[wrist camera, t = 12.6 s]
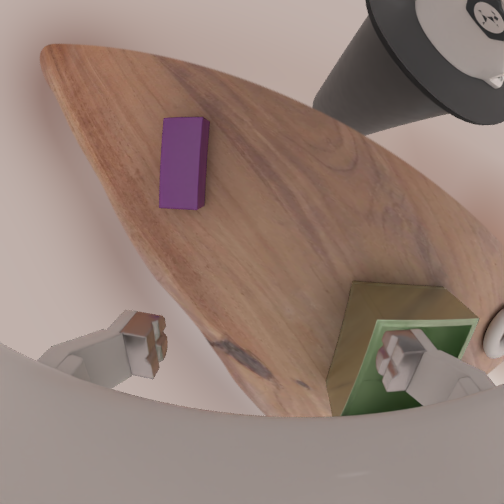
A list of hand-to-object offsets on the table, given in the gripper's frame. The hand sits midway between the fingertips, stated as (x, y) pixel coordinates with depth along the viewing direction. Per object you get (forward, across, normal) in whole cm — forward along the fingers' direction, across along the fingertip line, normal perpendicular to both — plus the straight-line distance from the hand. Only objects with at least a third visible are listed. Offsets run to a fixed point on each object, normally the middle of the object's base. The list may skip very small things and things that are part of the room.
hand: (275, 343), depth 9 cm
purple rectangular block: (+20, +9, -6) cm, 23 cm away
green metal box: (+20, -16, +13) cm, 29 cm away
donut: (+20, -41, +13) cm, 48 cm away
